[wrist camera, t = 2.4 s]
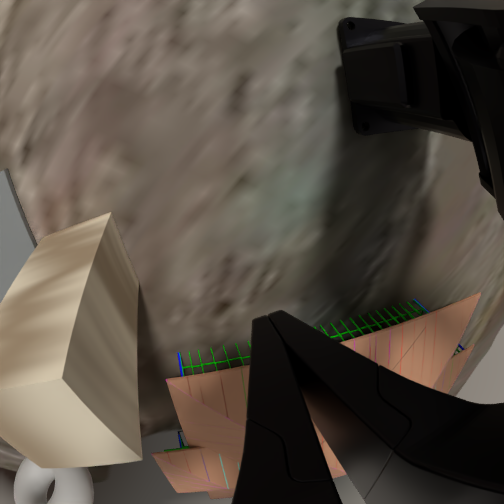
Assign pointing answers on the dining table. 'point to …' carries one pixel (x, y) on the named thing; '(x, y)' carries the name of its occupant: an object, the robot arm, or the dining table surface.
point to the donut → (66, 485)
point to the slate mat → (12, 235)
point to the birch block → (72, 351)
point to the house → (235, 409)
